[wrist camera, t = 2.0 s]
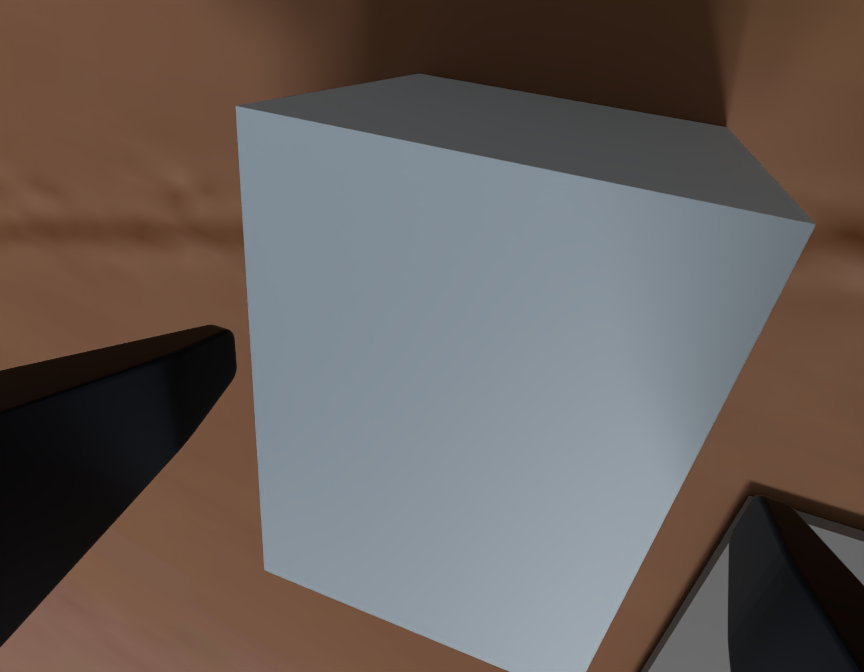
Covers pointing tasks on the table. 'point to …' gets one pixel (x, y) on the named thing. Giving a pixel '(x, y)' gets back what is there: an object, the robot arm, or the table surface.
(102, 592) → the table surface
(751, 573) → the robot arm
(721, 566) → the mat
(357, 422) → the grey rectangular block
